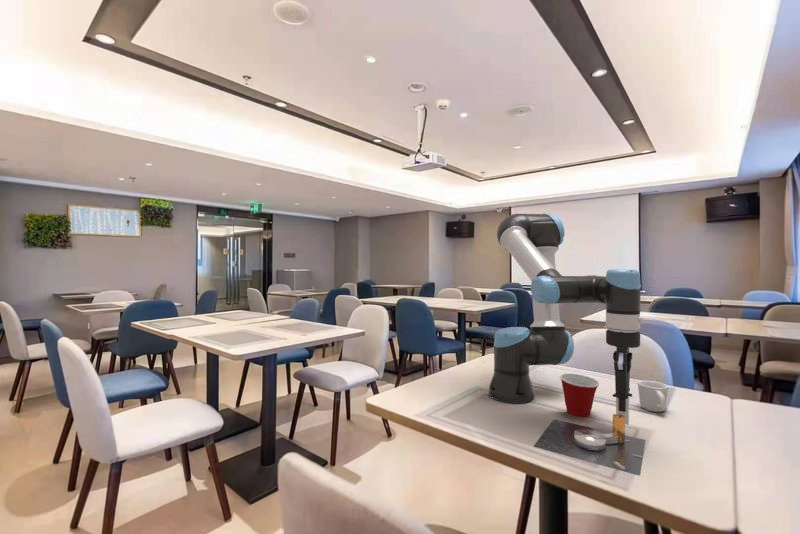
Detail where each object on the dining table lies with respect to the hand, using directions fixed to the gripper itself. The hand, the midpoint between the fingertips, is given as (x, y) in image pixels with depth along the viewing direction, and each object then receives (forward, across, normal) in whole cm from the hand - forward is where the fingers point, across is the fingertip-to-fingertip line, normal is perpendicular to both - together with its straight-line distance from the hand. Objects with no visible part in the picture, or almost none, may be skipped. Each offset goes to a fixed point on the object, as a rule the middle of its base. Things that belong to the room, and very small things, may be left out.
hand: (622, 422), depth 97 cm
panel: (+6, -8, +6) cm, 11 cm away
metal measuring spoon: (+4, -7, +4) cm, 9 cm away
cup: (+6, +31, -6) cm, 32 cm away
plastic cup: (+6, +11, +12) cm, 18 cm away
